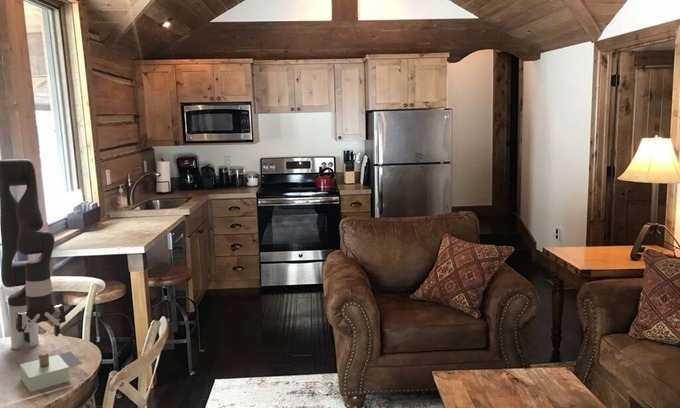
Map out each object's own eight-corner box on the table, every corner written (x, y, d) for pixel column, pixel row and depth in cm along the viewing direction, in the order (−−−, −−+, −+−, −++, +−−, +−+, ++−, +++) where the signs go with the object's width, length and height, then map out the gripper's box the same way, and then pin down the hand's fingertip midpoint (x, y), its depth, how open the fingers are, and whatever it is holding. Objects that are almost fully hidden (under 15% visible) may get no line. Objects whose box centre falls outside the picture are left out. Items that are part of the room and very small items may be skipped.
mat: (28, 362, 197) (28, 361, 197) (70, 352, 206) (70, 351, 206) (39, 376, 186) (39, 375, 186) (82, 364, 196) (82, 363, 196)
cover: (21, 379, 183) (19, 353, 182) (59, 368, 191) (57, 343, 190) (30, 393, 175) (28, 366, 173) (69, 381, 183) (68, 355, 181)
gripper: (59, 285, 186) (62, 330, 189) (11, 293, 176) (15, 341, 179) (66, 290, 181) (68, 337, 183) (17, 299, 171) (20, 348, 174)
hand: (42, 338), depth 181 cm, fingers open, 8 cm apart
